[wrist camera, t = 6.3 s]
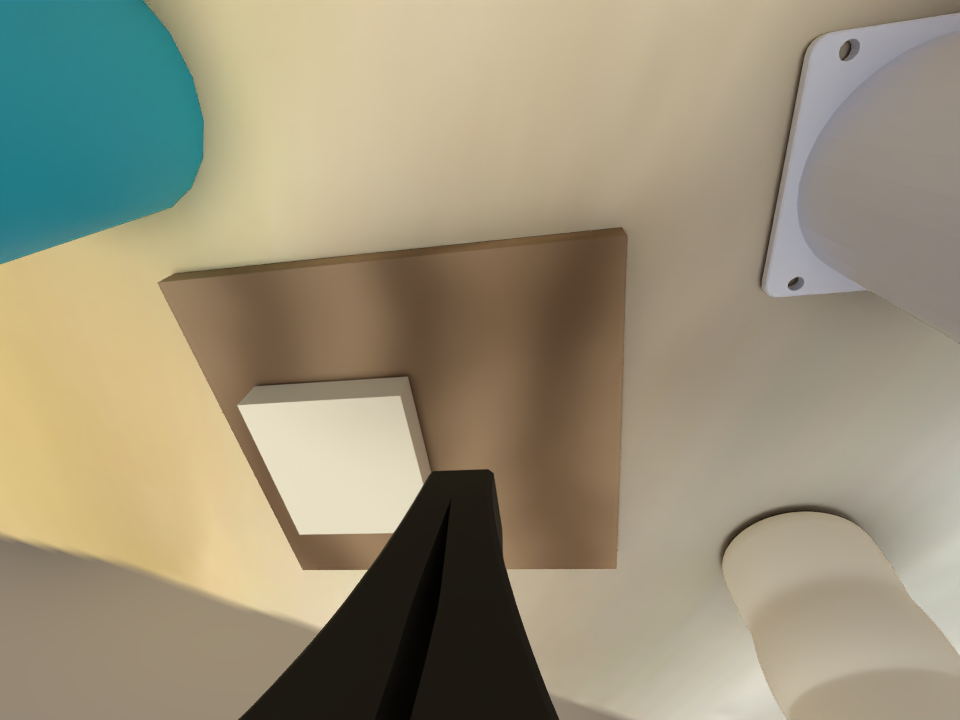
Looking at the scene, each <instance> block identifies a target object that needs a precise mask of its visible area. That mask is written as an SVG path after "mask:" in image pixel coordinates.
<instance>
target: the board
mask: <svg viewBox="0 0 960 720" xmlns="http://www.w3.org/2000/svg"><path fill="white" fill-rule="evenodd" d="M626 258H627V234H626V233H625V231H624V230H623V228H612V229H602V230H593V231H583V232H573V233H564V234H554V235H544V236H535V237H525V238H515V239H506V240H496V241H487V242H477V243H467V244H458V245H448V246H438V247H429V248H419V249H409V250H400V251H390V252H381V253H371V254H361V255H352V256H342V257H332V258H323V259H313V260H303V261H294V262H284V263H274V264H265V265H255V266H246V267H236V268H226V269H217V270H207V271H197V272H188V273H178V274H173V275H171V276H169V277H167V278H165V279H163V280H162V281H160V282H158V285H159V287H160V289H161V291H162V293H163V295H164V297H165V299H166V301H167V303H168V305H169V307H170V308H171V310H172V312H173V314H174V316H175V318H176V320H177V322H178V324H179V326H180V328H181V330H182V332H183V334H184V336H185V338H186V340H187V342H188V344H189V346H190V348H191V350H192V352H193V354H194V356H195V358H196V360H197V362H198V364H199V366H200V368H201V370H202V372H203V374H204V376H205V378H206V380H207V382H208V384H209V386H210V388H211V389H212V391H213V393H214V395H215V397H216V399H217V401H218V403H219V405H220V407H221V409H222V411H223V413H224V415H225V417H226V419H227V421H228V423H229V425H230V427H231V429H232V431H233V433H234V435H235V437H236V439H237V441H238V443H239V445H240V447H241V449H242V451H243V453H244V455H245V457H246V459H247V461H248V463H249V465H250V467H251V469H252V470H253V472H254V474H255V476H256V478H257V480H258V482H259V484H260V486H261V488H262V490H263V492H264V494H265V496H266V498H267V500H268V502H269V504H270V506H271V508H272V510H273V512H274V514H275V516H276V518H277V520H278V522H279V524H280V526H281V528H282V530H283V532H284V534H285V536H286V538H287V540H288V542H289V544H290V546H291V548H292V550H293V551H294V553H295V555H296V557H297V559H298V561H299V563H300V565H301V567H302V569H303V570H368V569H369V568H370V567H371V565H372V564H373V563H374V561H375V560H376V558H377V557H378V555H379V554H380V553H381V551H382V550H383V548H384V547H385V545H386V544H387V542H388V541H389V539H390V538H391V536H392V535H393V533H372V534H307V535H299V532H298V530H297V528H296V526H295V524H294V522H293V520H292V518H291V516H290V514H289V512H288V510H287V508H286V506H285V503H284V501H283V499H282V497H281V495H280V493H279V491H278V489H277V487H276V485H275V483H274V481H273V479H272V477H271V474H270V472H269V470H268V468H267V466H266V464H265V462H264V460H263V458H262V456H261V454H260V452H259V450H258V448H257V445H256V443H255V441H254V439H253V437H252V435H251V433H250V431H249V429H248V427H247V425H246V423H245V421H244V418H243V416H242V414H241V412H240V410H239V408H238V406H237V405H238V404H239V403H240V402H241V400H242V399H243V398H244V397H245V396H246V395H247V394H248V393H249V392H250V391H251V389H252V388H253V387H254V386H268V385H284V384H300V383H315V382H331V381H346V380H362V379H378V378H393V377H408V379H409V383H410V387H411V391H412V395H413V399H414V403H415V407H416V412H417V416H418V420H419V424H420V428H421V432H422V436H423V440H424V444H425V448H426V452H427V457H428V461H429V465H430V469H431V473H432V472H433V471H448V470H477V469H489V470H490V471H491V472H493V473H494V478H495V485H496V491H497V498H498V504H499V511H500V517H501V524H502V533H503V559H504V563H505V567H506V569H616V567H617V536H618V505H619V475H620V444H621V413H622V382H623V351H624V320H625V289H626Z"/></svg>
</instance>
